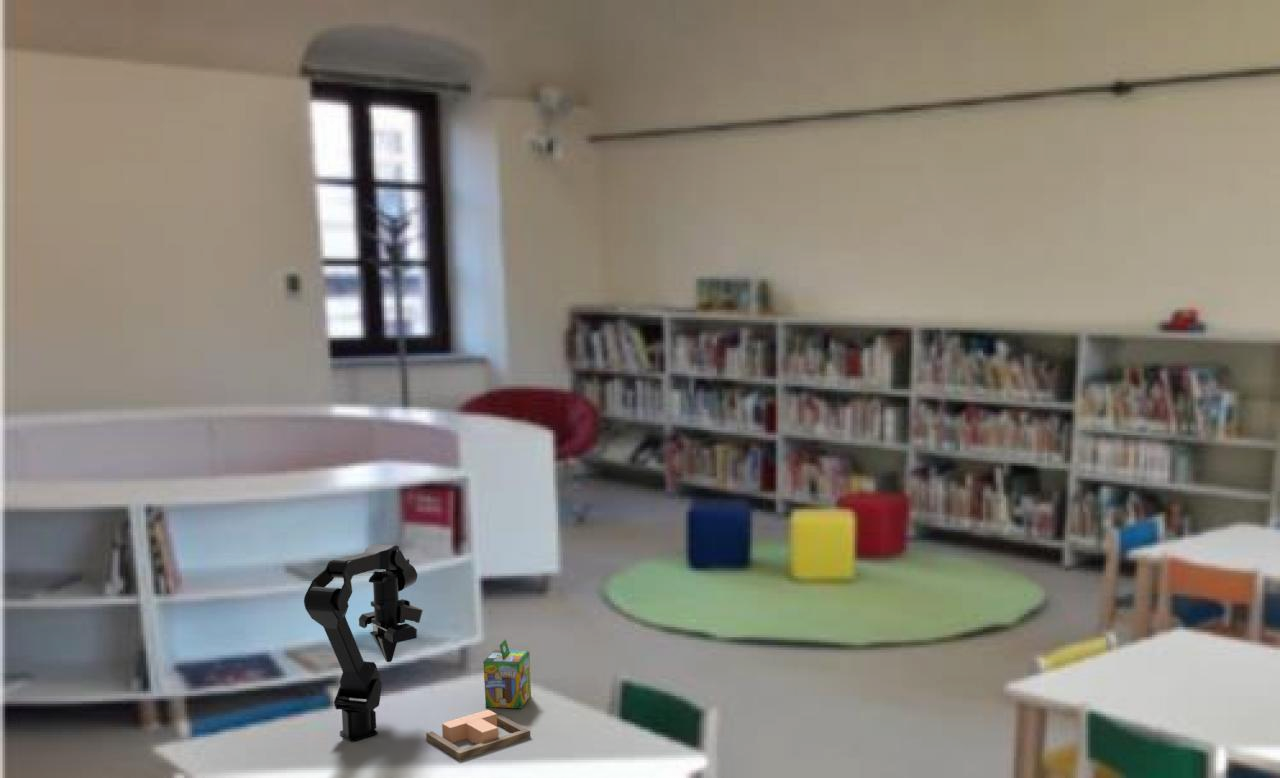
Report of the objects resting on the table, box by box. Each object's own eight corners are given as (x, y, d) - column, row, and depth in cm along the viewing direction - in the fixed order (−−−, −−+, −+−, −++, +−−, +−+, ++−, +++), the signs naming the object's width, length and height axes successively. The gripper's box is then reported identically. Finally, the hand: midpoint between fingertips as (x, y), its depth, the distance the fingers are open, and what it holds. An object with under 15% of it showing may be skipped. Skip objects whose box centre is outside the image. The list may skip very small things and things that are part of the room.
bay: (459, 760, 238) (459, 753, 238) (426, 739, 249) (426, 733, 249) (530, 737, 249) (530, 730, 249) (495, 718, 261) (495, 712, 260)
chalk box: (521, 710, 266) (519, 649, 264) (484, 708, 267) (482, 647, 266) (532, 695, 275) (530, 636, 273) (496, 694, 276) (494, 635, 275)
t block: (467, 753, 242) (466, 737, 241) (442, 738, 250) (442, 723, 250) (514, 737, 249) (513, 722, 249) (488, 724, 257) (488, 709, 257)
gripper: (436, 598, 262) (438, 663, 264) (398, 583, 276) (401, 645, 278) (392, 608, 255) (395, 674, 257) (356, 591, 269) (359, 655, 271)
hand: (388, 661), depth 266 cm, fingers closed
